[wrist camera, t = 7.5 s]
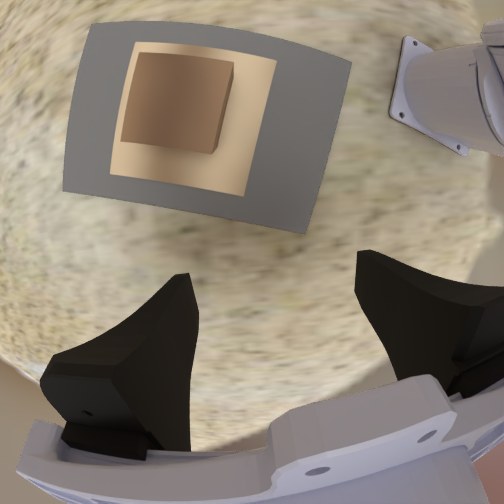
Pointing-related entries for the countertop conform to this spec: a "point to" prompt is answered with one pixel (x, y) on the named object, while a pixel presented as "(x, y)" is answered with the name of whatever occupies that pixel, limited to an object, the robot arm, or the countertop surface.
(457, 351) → the robot arm
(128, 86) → the oak base
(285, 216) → the build mat
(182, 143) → the walnut cube
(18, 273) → the countertop surface
